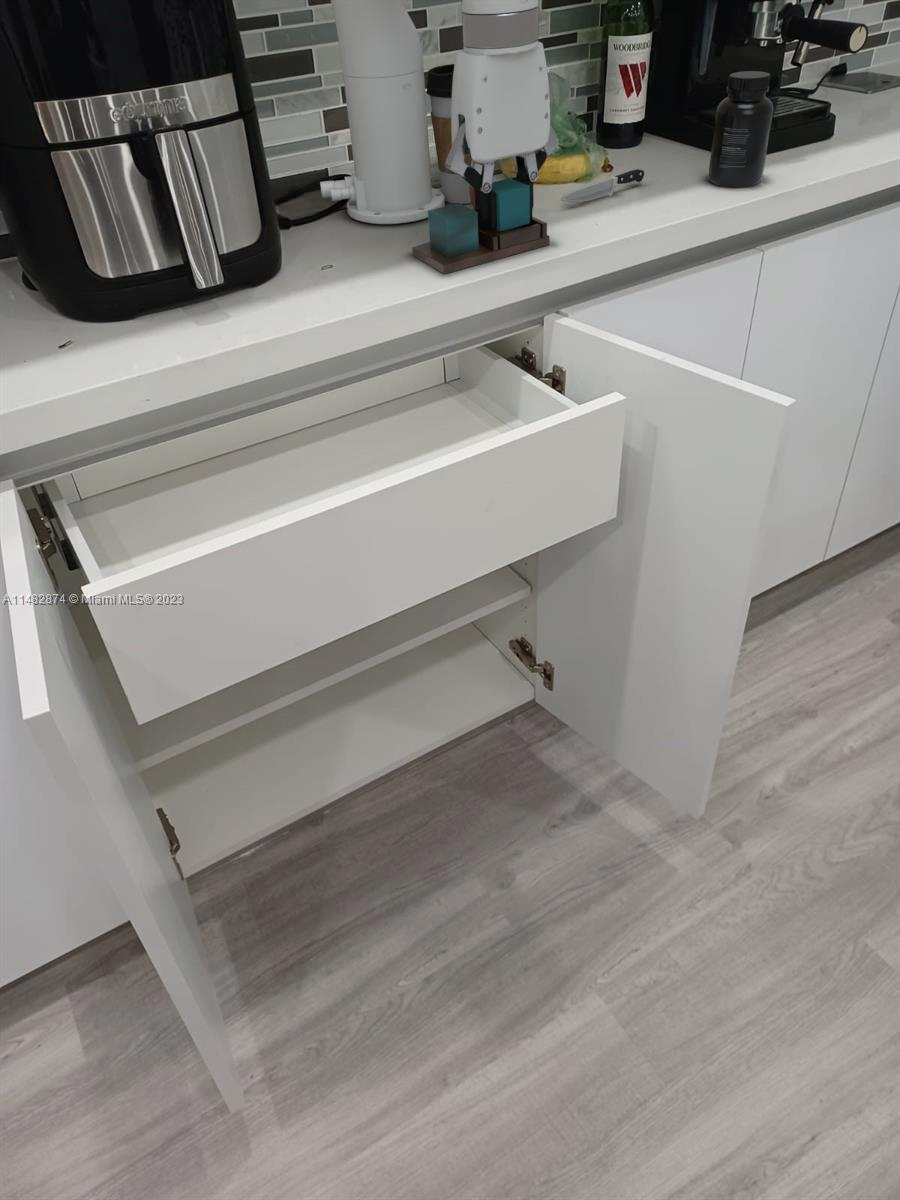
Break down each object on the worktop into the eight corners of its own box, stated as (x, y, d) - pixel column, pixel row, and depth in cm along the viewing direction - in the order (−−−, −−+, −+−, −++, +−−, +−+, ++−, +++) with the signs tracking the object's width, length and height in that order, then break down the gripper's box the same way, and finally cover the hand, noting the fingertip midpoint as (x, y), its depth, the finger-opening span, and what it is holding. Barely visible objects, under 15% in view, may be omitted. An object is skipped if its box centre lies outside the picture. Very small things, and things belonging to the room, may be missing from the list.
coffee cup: (472, 210, 110) (467, 74, 100) (420, 201, 114) (410, 69, 104) (509, 192, 115) (508, 60, 105) (458, 183, 119) (452, 56, 109)
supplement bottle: (773, 181, 112) (792, 74, 104) (733, 192, 109) (749, 83, 101) (735, 169, 116) (750, 66, 108) (696, 179, 114) (708, 74, 106)
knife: (561, 212, 107) (561, 195, 106) (557, 211, 108) (557, 194, 107) (643, 184, 114) (644, 168, 112) (639, 183, 114) (640, 167, 113)
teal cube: (500, 231, 96) (499, 193, 94) (481, 222, 99) (479, 185, 96) (530, 223, 98) (529, 185, 95) (510, 215, 100) (509, 177, 98)
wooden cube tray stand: (444, 274, 94) (441, 227, 91) (412, 255, 99) (408, 209, 96) (549, 244, 99) (550, 198, 96) (514, 228, 104) (514, 184, 101)
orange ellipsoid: (468, 213, 109) (466, 170, 106) (472, 208, 111) (470, 165, 107) (484, 213, 109) (482, 170, 105) (487, 208, 110) (486, 165, 107)
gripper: (547, 16, 92) (546, 199, 104) (408, 40, 86) (424, 230, 98) (591, 22, 87) (584, 214, 99) (446, 48, 81) (458, 248, 93)
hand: (504, 220), depth 98 cm, fingers closed on teal cube, 4 cm apart
